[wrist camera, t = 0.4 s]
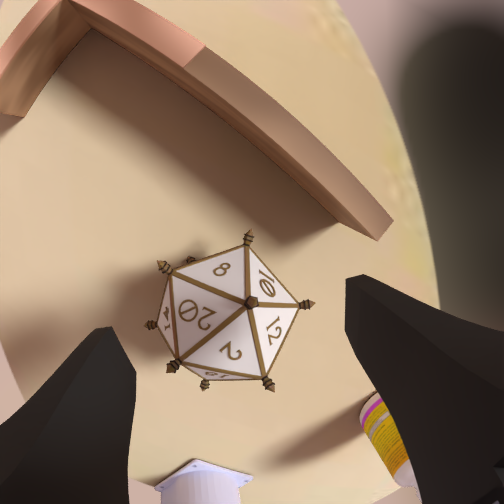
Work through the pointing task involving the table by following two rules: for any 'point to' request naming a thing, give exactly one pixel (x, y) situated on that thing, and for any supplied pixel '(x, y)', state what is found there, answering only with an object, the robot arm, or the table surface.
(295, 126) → the l-shaped bracket
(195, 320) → the game die
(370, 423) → the supplement bottle
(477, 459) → the robot arm
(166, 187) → the table surface
